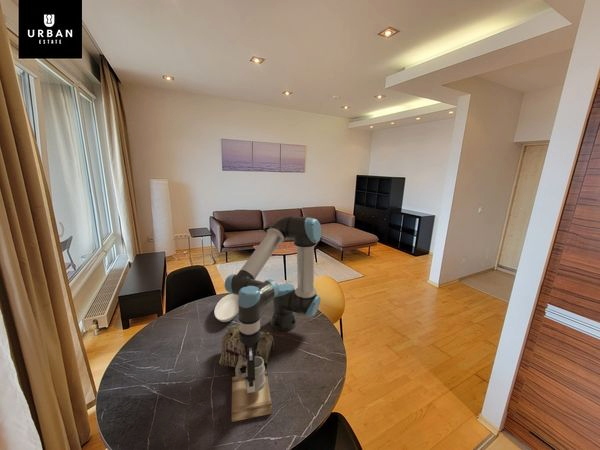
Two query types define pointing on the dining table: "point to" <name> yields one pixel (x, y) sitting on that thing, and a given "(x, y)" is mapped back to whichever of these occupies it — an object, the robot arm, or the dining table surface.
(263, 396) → the plinth
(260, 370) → the mug
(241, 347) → the sculptural head
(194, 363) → the dining table surface
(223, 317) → the bowl
